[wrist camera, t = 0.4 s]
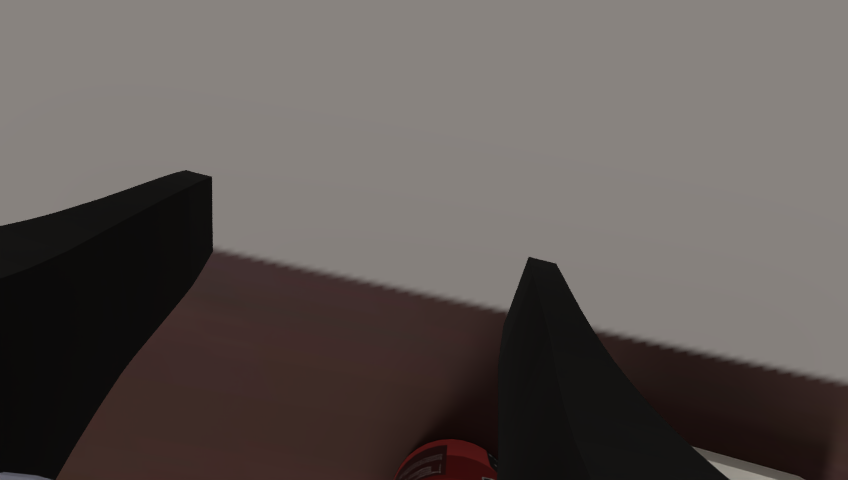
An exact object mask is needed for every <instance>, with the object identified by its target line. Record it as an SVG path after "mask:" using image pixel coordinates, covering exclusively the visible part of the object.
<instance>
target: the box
mask: <svg viewBox="0 0 848 480" xmlns="http://www.w3.org/2000/svg"><path fill="white" fill-rule="evenodd" d="M692 447H693V446H692ZM693 448H694V449H695V450H696V451H697V452H698V453H700V454H701V455H702V456H703V457H704V458H705V459H706V460H708V461H709V462H710V463H711V464H712V465H713V466H714V467H716V468H717V469H718V470H719V471H720V472H721V473H723V474H724V475H725V476H726V477H727V478H729V479H730V480H805V479H803V478H801V477H799V476H797V475H793V474H789V473H786V472H782V471H779V470H775V469H772V468H768V467H764V466H761V465H757V464H754V463H750V462H746V461H743V460H739V459H736V458H732V457H729V456H725V455H721V454H718V453H714V452H711V451H707V450H703V449H700V448H696V447H693Z"/></svg>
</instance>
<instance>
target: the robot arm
mask: <svg viewBox="0 0 848 480" xmlns="http://www.w3.org/2000/svg"><path fill="white" fill-rule="evenodd" d="M212 233H213V231H212V177H211V176H207V175H202V174H199V173H194V172H191V171H187V170H185V171H181V172H177V173H173V174H170V175H167V176H164V177H161V178H158V179H155V180H152V181H149V182H146V183H144V184H141V185H138V186H135V187H133V188H130V189H127V190H124V191H121V192H118V193H115V194H113V195H109V196H107V197H104V198H101V199H98V200H94V201H91V202H88V203H85V204H82V205H79V206H75V207H72V208H69V209H66V210H62V211H59V212H56V213H52V214H49V215H45V216H41V217H37V218H33V219H30V220H25V221H21V222H16V223H12V224H8V225H3V226H0V480H56V478H57V476H58V474H59V473H60V471H61V469H62V467H63V466H64V464H65V462H66V460H67V459H68V457H69V455H70V453H71V452H72V450H73V448H74V447H75V445H76V443H77V442H78V440H79V439H80V437H81V435H82V434H83V432H84V430H85V429H86V427H87V426H88V424H89V422H90V421H91V419H92V418H93V416H94V414H95V413H96V411H97V409H98V408H99V406H100V405H101V403H102V402H103V400H104V399H105V397H106V396H107V394H108V393H109V391H110V390H111V388H112V387H113V385H114V384H115V382H116V381H117V379H118V377H119V376H120V374H121V373H122V372H123V370H124V369H125V368H126V366H127V365H128V364H129V362H130V361H131V360H132V359H133V357H134V356H135V355H136V354H137V352H138V351H139V350H140V349H141V348H142V346H143V345H144V344H145V343H146V342H147V340H148V339H149V338H150V337H151V336H152V334H153V333H154V332H155V331H156V330H157V328H158V327H159V326H160V325H161V323H162V322H163V321H164V320H165V319H166V317H167V316H168V315H169V314H170V313H171V311H172V310H173V309H174V308H175V307H176V305H177V304H178V303H179V302H180V300H181V299H182V298H183V297H184V295H185V294H186V293H187V292H188V290H189V289H190V288H191V287H192V285H193V284H194V282H195V280H196V279H197V277H198V276H199V274H200V272H201V271H202V269H203V267H204V266H205V264H206V262H207V260H208V259H209V257H210V255H211V254H212V252H213V234H212ZM497 480H730V479H729V478H727V477H726V476H725V475H724V474H723V473H721V472H720V471H719V470H718V469H717V468H716V467H714V466H713V465H712V464H711V463H710V462H709V461H708V460H706V459H705V458H704V457H703V456H702V455H701V454H700V453H698V452H697V451H696V450H695V449H694V448H693V447H692V446H691V445H690V444H689V443H687V442H686V441H685V440H684V439H683V438H682V437H681V436H680V435H679V434H678V433H677V432H676V431H675V430H674V429H673V428H672V427H671V426H670V425H669V424H668V423H667V422H666V421H665V420H664V419H663V418H662V417H661V416H660V415H659V414H658V413H657V412H656V411H655V410H654V409H653V407H652V406H651V405H650V404H649V403H648V402H647V401H646V400H645V399H644V397H643V396H642V395H641V394H640V393H639V392H638V390H637V389H636V388H635V387H634V386H633V384H632V383H631V382H630V381H629V379H628V378H627V377H626V376H625V375H624V373H623V372H622V371H621V369H620V368H619V367H618V366H617V364H616V363H615V362H614V360H613V359H612V357H611V356H610V354H609V353H608V352H607V350H606V349H605V347H604V346H603V344H602V343H601V341H600V340H599V338H598V337H597V335H596V334H595V332H594V331H593V329H592V327H591V326H590V324H589V322H588V321H587V319H586V317H585V316H584V314H583V312H582V311H581V309H580V307H579V305H578V303H577V302H576V300H575V298H574V296H573V294H572V292H571V291H570V289H569V287H568V285H567V283H566V281H565V279H564V277H563V275H562V274H561V272H560V270H559V268H558V266H557V264H555V263H551V262H547V261H543V260H539V259H535V258H531V257H529V258H528V260H527V263H526V266H525V269H524V271H523V274H522V277H521V279H520V282H519V285H518V288H517V290H516V293H515V296H514V299H513V301H512V304H511V307H510V310H509V312H508V315H507V318H506V321H505V323H504V326H503V334H502V341H501V348H500V356H499V364H498V468H497Z"/></svg>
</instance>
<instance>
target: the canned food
mask: <svg viewBox="0 0 848 480" xmlns="http://www.w3.org/2000/svg"><path fill="white" fill-rule="evenodd" d="M497 468H498V460H497V459H496V458H495V457H494V456H492V455H491V454H490V453H489V452H488V451H486V450H485V449H483V448H481V447H479V446H477V445H475V444H473V443H470V442H466V441H463V440H455V439H445V440H437V441H434V442H430V443H427V444H425V445H423V446H421V447H419V448H418V449H416V450H415V451H414V452H412V453H411V454H410V455H409V456H408V457H407V458H406V459H405V460H404V462H403V463H402V464H401V465H400V467H399V469H398V471H397V473H396V475H395V478H394V480H497Z"/></svg>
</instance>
